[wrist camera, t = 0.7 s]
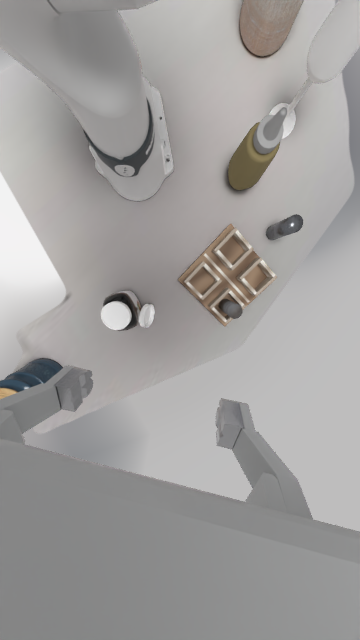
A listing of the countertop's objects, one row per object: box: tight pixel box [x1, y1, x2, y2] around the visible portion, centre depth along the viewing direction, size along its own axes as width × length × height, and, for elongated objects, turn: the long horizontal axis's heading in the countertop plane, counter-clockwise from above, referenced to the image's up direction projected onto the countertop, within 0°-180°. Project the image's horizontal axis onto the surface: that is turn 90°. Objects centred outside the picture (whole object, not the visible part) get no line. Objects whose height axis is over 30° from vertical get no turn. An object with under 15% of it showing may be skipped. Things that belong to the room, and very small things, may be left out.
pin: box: [266, 215, 303, 240], centre depth 42 cm, size 4×4×9 cm
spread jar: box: [101, 291, 155, 331], centre depth 46 cm, size 12×11×12 cm
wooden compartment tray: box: [178, 224, 277, 326], centre depth 45 cm, size 20×20×10 cm
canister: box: [0, 359, 63, 399], centre depth 48 cm, size 13×13×18 cm
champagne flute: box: [269, 0, 360, 139], centre depth 28 cm, size 7×7×24 cm
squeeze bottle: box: [228, 107, 287, 190], centre depth 34 cm, size 8×8×18 cm
